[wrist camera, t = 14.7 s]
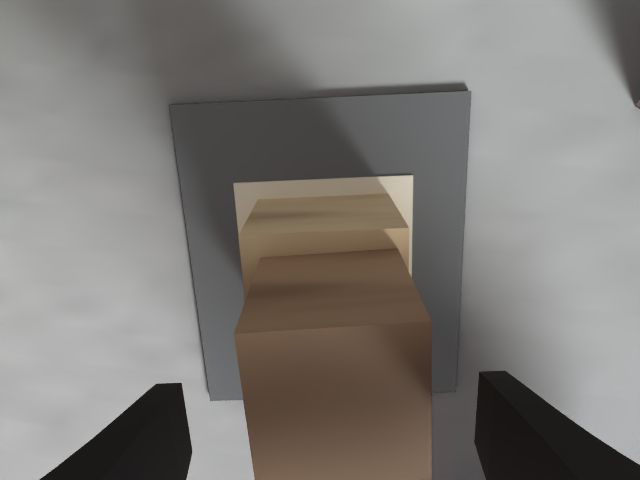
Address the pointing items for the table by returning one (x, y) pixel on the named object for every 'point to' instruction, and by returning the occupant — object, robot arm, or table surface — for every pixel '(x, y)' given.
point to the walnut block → (336, 368)
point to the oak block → (320, 228)
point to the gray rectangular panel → (323, 180)
